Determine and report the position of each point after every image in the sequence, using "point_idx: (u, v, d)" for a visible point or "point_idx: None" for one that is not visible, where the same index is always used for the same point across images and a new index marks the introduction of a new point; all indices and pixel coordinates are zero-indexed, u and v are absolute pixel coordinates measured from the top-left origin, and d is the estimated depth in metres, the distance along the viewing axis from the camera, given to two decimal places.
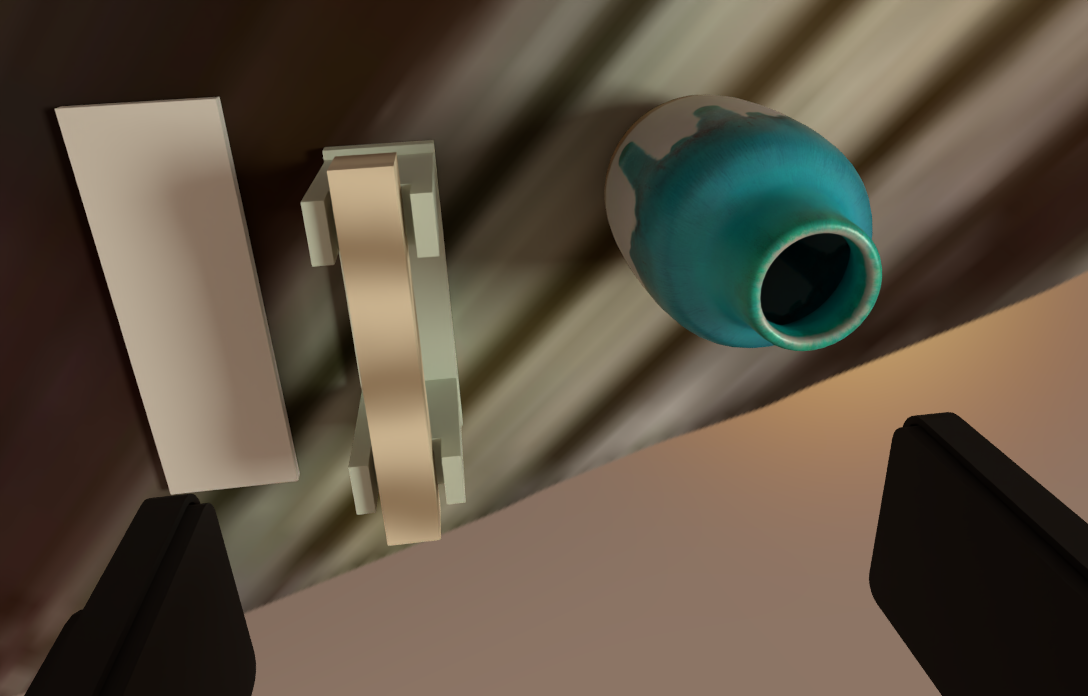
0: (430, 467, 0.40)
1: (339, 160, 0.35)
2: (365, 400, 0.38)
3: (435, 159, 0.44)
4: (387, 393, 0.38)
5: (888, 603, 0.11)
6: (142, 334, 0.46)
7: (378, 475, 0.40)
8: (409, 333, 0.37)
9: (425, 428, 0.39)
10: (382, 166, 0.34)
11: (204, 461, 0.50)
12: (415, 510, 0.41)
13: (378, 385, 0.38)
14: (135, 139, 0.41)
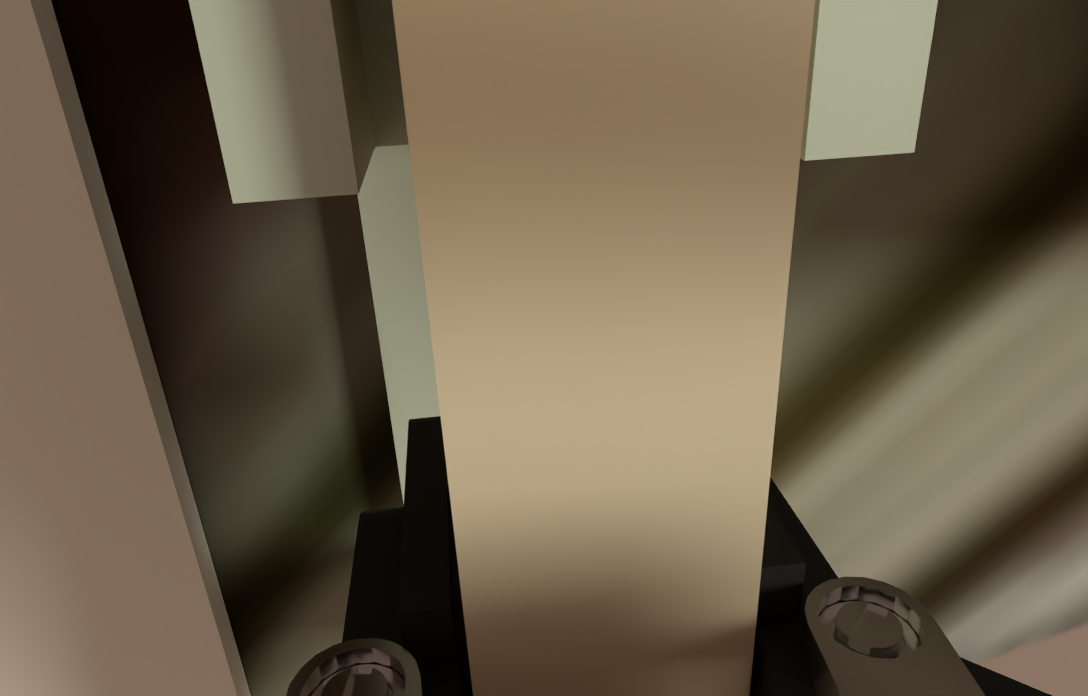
0: None
1: None
2: None
3: None
4: None
5: None
6: None
7: None
8: (735, 552, 0.07)
9: None
10: None
11: None
12: None
13: None
14: None
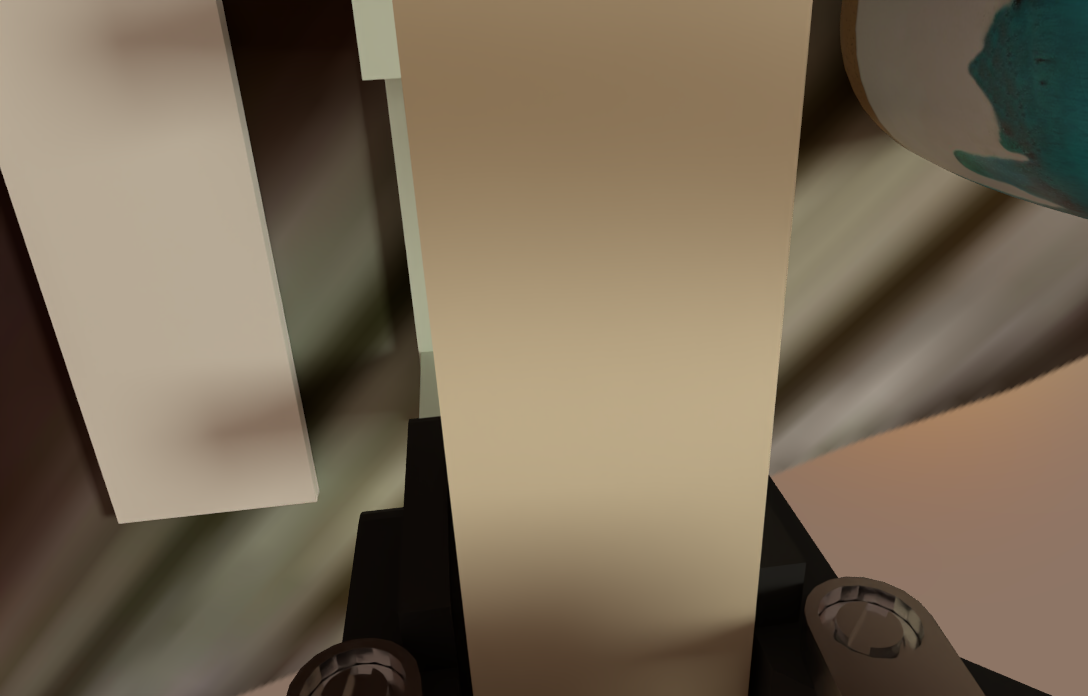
0: None
1: None
2: None
3: None
4: None
5: None
6: (65, 262, 0.28)
7: None
8: (733, 551, 0.07)
9: None
10: None
11: (171, 471, 0.32)
12: None
13: None
14: None
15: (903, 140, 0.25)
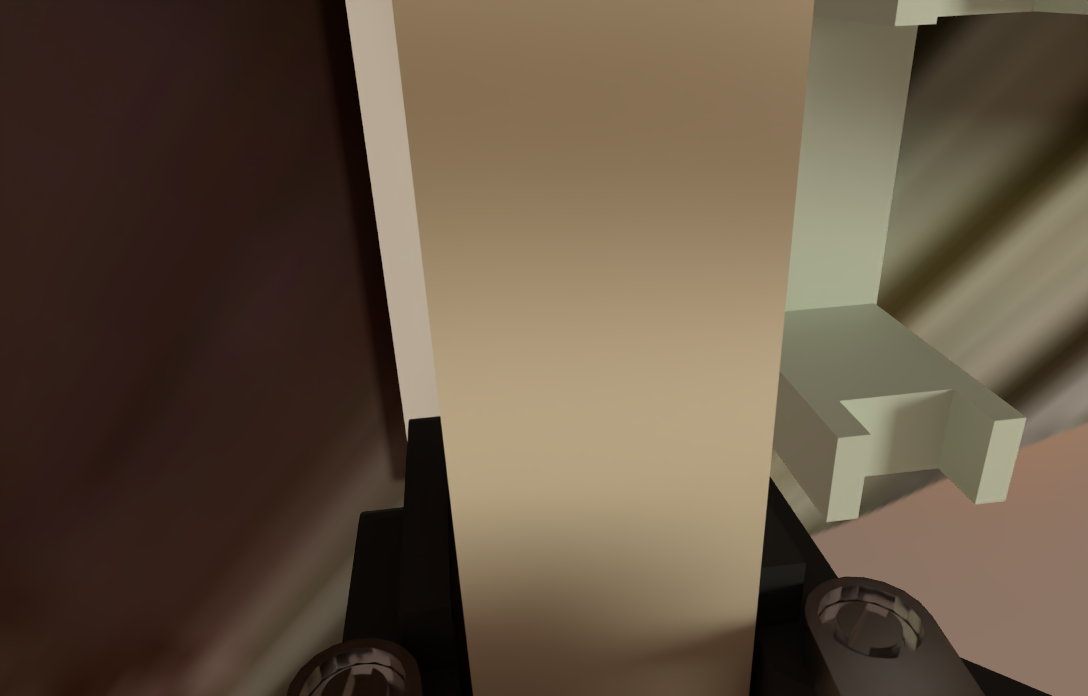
0: None
1: None
2: None
3: None
4: None
5: None
6: (407, 222, 0.28)
7: None
8: (735, 556, 0.07)
9: None
10: None
11: None
12: None
13: None
14: None
15: None
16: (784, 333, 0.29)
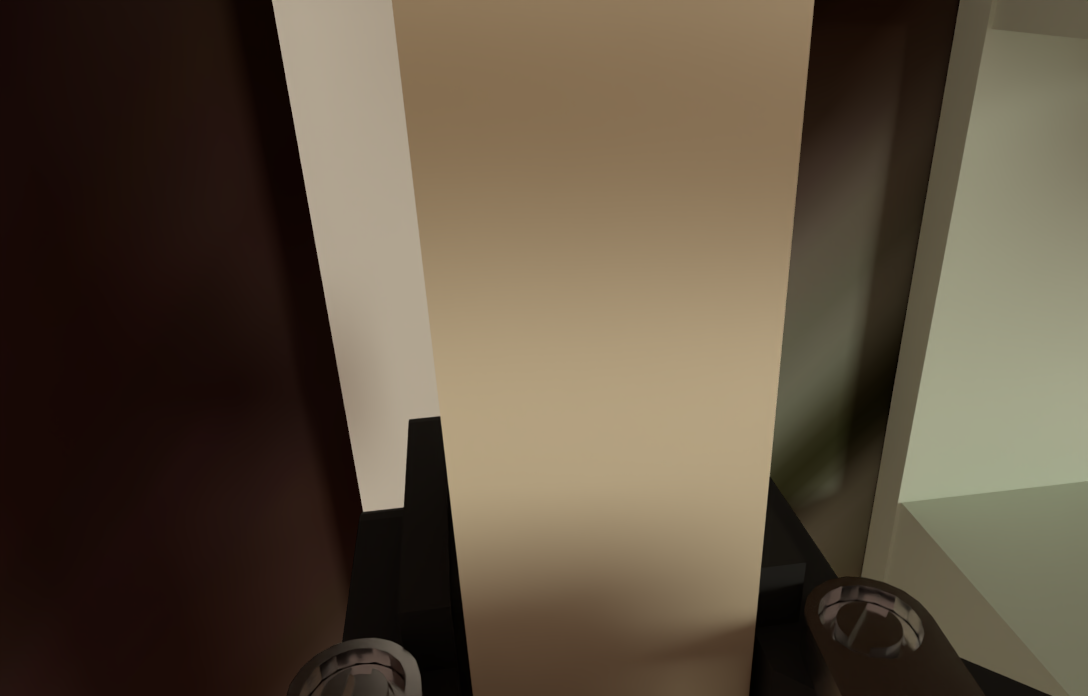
0: None
1: None
2: None
3: None
4: None
5: None
6: (392, 379, 0.17)
7: None
8: (735, 557, 0.07)
9: None
10: None
11: None
12: None
13: None
14: None
15: None
16: (1000, 547, 0.18)
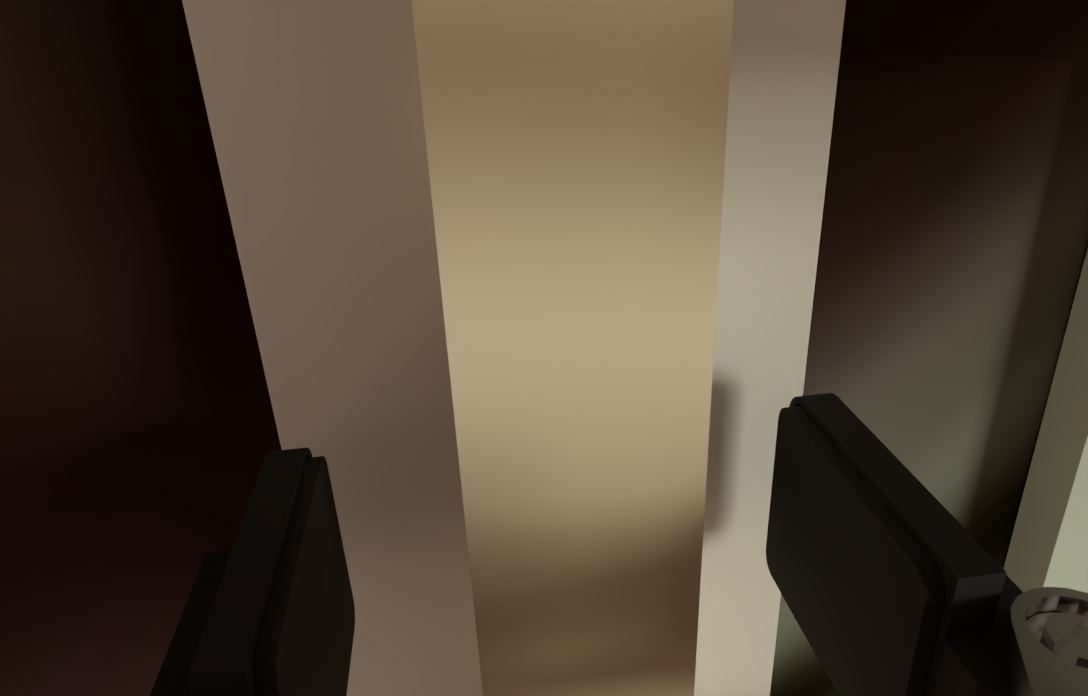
0: None
1: None
2: (486, 687, 0.10)
3: None
4: (572, 661, 0.10)
5: (779, 576, 0.12)
6: (372, 534, 0.12)
7: None
8: (686, 446, 0.09)
9: None
10: None
11: None
12: None
13: (539, 635, 0.10)
14: None
15: None
16: None
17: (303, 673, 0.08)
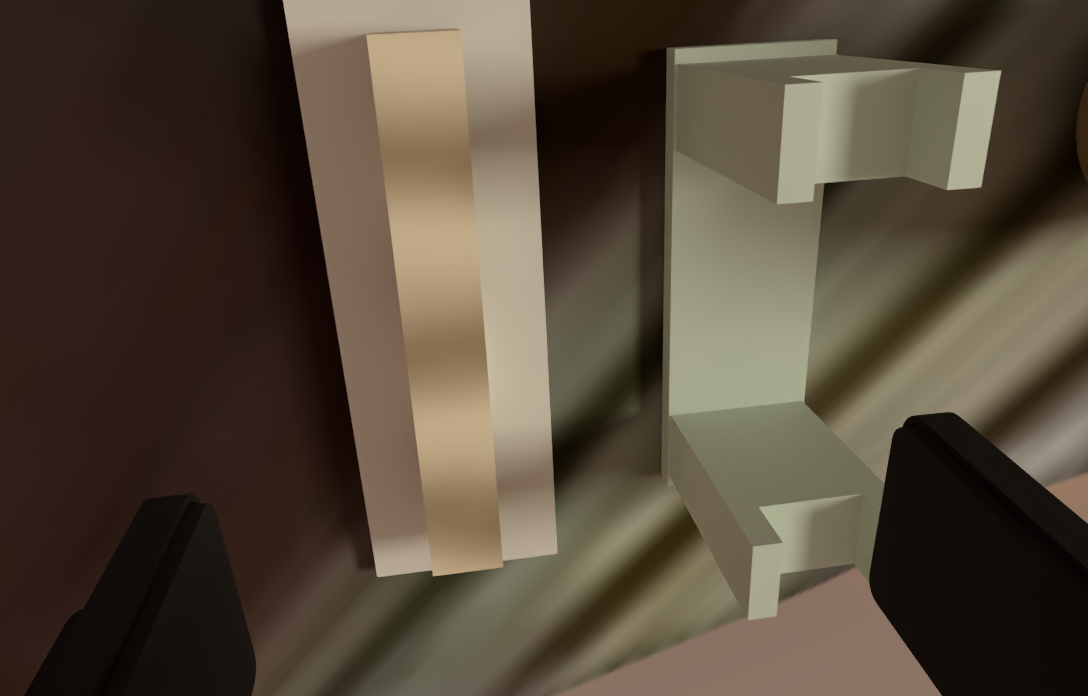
0: (493, 468, 0.30)
1: None
2: (409, 374, 0.28)
3: None
4: (440, 364, 0.28)
5: (888, 603, 0.11)
6: (367, 339, 0.30)
7: (423, 479, 0.30)
8: (472, 279, 0.27)
9: (489, 414, 0.29)
10: (444, 30, 0.24)
11: None
12: (470, 528, 0.31)
13: (427, 352, 0.28)
14: (396, 25, 0.26)
15: None
16: (716, 434, 0.32)
17: None
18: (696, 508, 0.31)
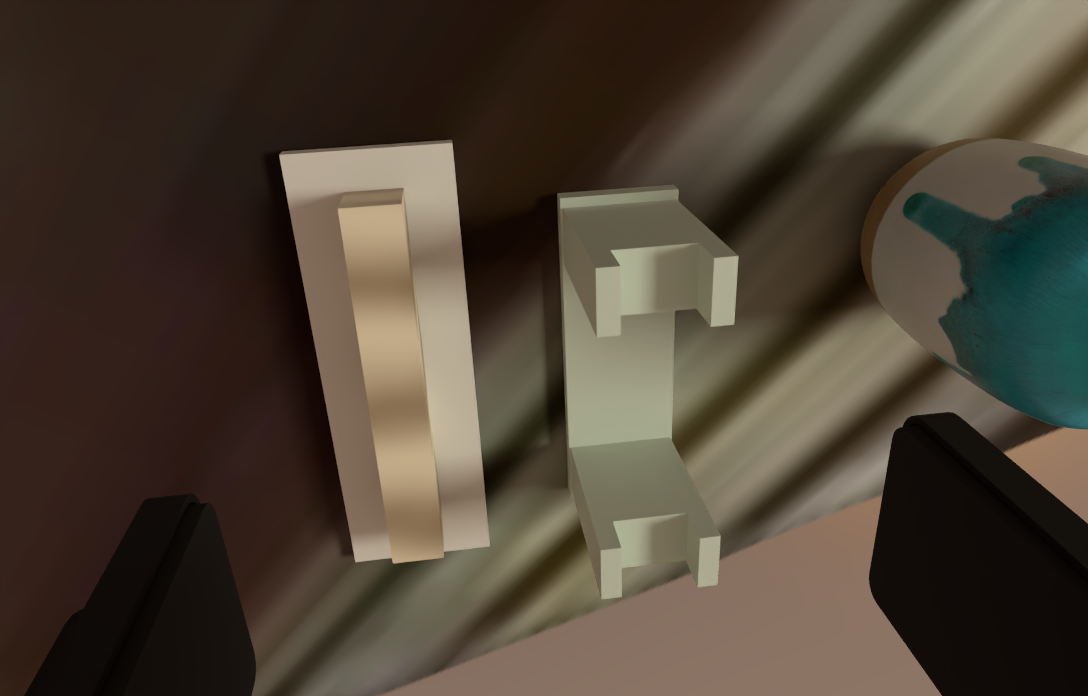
0: (434, 488, 0.42)
1: (349, 196, 0.37)
2: (372, 425, 0.40)
3: None
4: (394, 418, 0.40)
5: (888, 603, 0.11)
6: (345, 395, 0.42)
7: (384, 496, 0.42)
8: (414, 361, 0.39)
9: (430, 451, 0.41)
10: (390, 204, 0.35)
11: None
12: (419, 530, 0.43)
13: (385, 410, 0.39)
14: (361, 186, 0.38)
15: (901, 327, 0.40)
16: (599, 463, 0.43)
17: None
18: (582, 517, 0.43)
